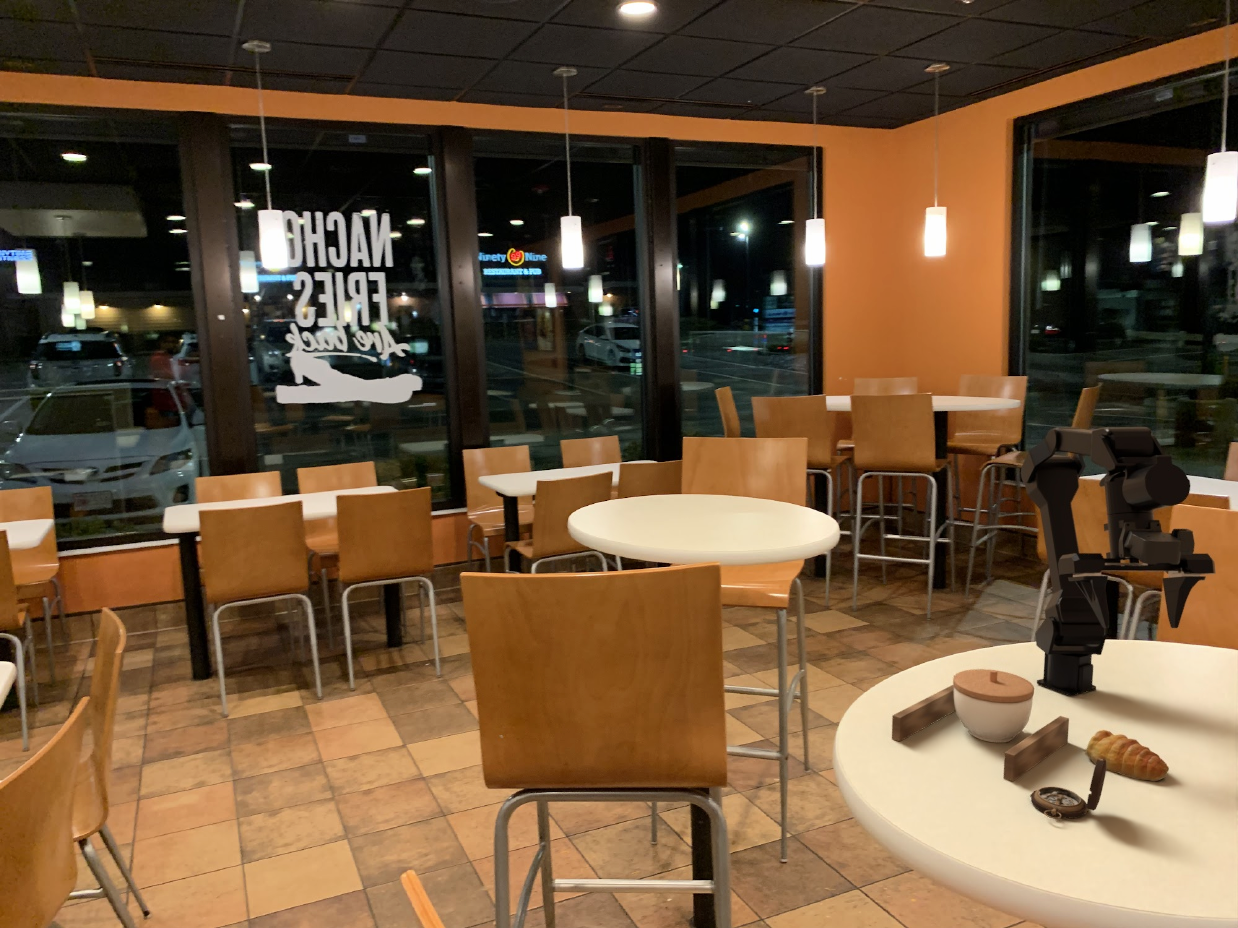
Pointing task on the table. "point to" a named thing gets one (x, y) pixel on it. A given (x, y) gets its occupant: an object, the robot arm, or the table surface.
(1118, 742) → the pastry
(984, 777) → the table surface
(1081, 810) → the compass
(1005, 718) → the lidded jar
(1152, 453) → the robot arm
